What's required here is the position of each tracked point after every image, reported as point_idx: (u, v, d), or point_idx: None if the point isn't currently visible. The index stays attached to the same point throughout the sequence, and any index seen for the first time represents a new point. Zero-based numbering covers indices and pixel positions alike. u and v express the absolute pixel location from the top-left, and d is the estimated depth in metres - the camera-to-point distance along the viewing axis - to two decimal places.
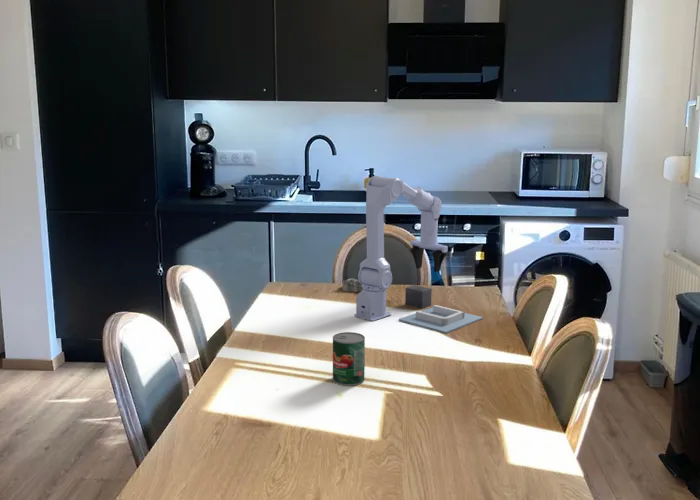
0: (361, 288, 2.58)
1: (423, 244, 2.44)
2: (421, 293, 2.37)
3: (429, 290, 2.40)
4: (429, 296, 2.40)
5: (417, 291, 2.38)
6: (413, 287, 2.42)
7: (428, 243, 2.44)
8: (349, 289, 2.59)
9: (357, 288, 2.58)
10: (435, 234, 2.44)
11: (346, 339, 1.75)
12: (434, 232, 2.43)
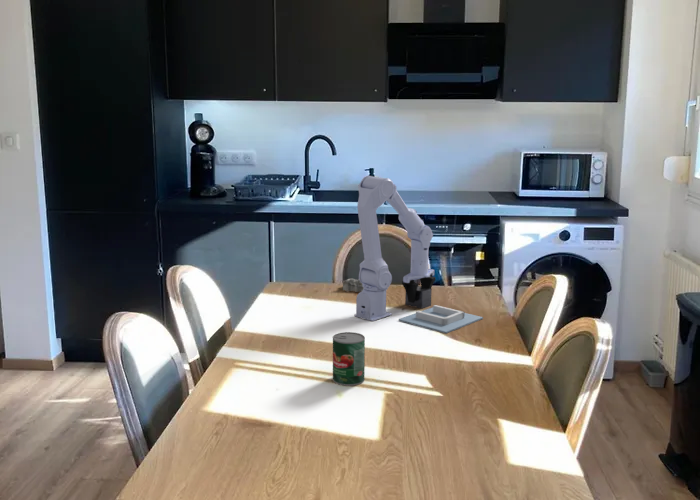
0: (361, 288, 2.58)
1: None
2: (421, 293, 2.37)
3: (429, 290, 2.40)
4: (429, 296, 2.40)
5: (417, 291, 2.38)
6: None
7: None
8: (349, 289, 2.59)
9: (357, 288, 2.58)
10: (413, 263, 2.37)
11: (346, 339, 1.75)
12: (412, 261, 2.37)
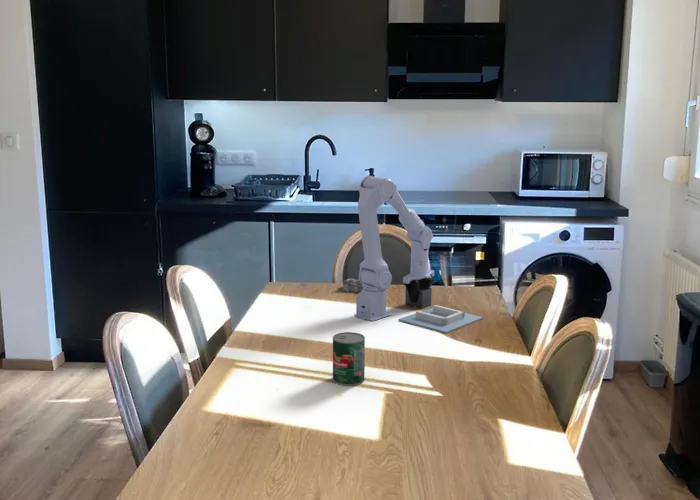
0: (362, 288, 2.58)
1: None
2: (421, 293, 2.37)
3: (429, 290, 2.40)
4: (429, 296, 2.40)
5: None
6: None
7: None
8: (349, 289, 2.59)
9: (358, 288, 2.58)
10: (413, 264, 2.37)
11: (346, 339, 1.75)
12: (412, 262, 2.37)
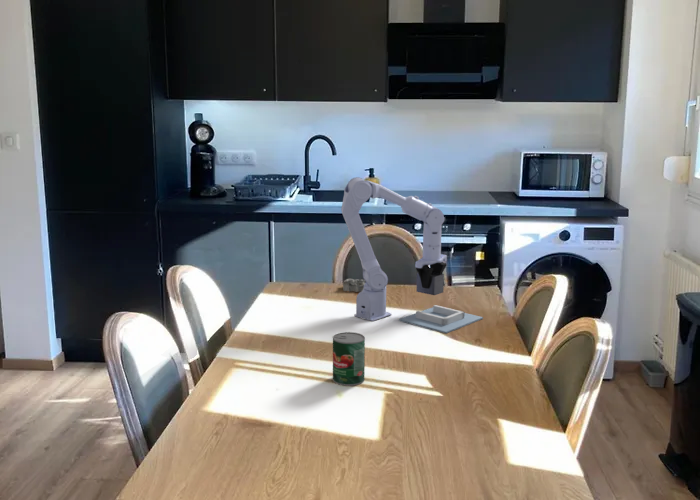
0: (362, 288, 2.58)
1: None
2: (433, 278, 2.27)
3: (441, 275, 2.30)
4: (441, 282, 2.30)
5: None
6: None
7: None
8: (350, 289, 2.59)
9: (358, 288, 2.58)
10: (426, 248, 2.27)
11: (346, 339, 1.75)
12: (425, 245, 2.27)
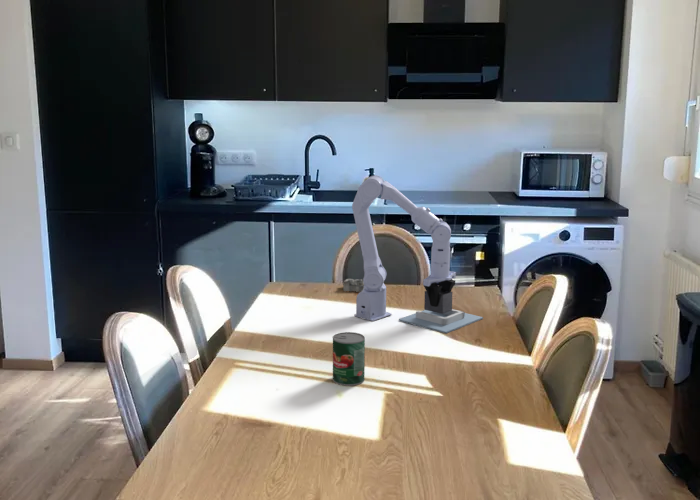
0: (362, 288, 2.59)
1: None
2: (441, 296, 2.22)
3: (450, 293, 2.24)
4: (450, 300, 2.25)
5: None
6: None
7: None
8: (350, 289, 2.59)
9: (359, 288, 2.58)
10: (434, 265, 2.21)
11: (346, 339, 1.75)
12: (433, 263, 2.22)
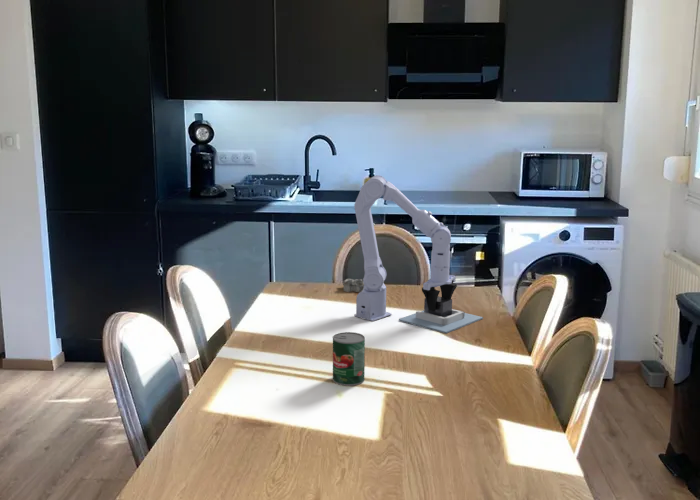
0: None
1: None
2: (441, 304, 2.22)
3: (450, 301, 2.25)
4: (450, 307, 2.25)
5: (437, 302, 2.23)
6: None
7: None
8: (350, 289, 2.58)
9: (359, 288, 2.58)
10: (434, 269, 2.22)
11: (346, 339, 1.75)
12: (433, 267, 2.22)
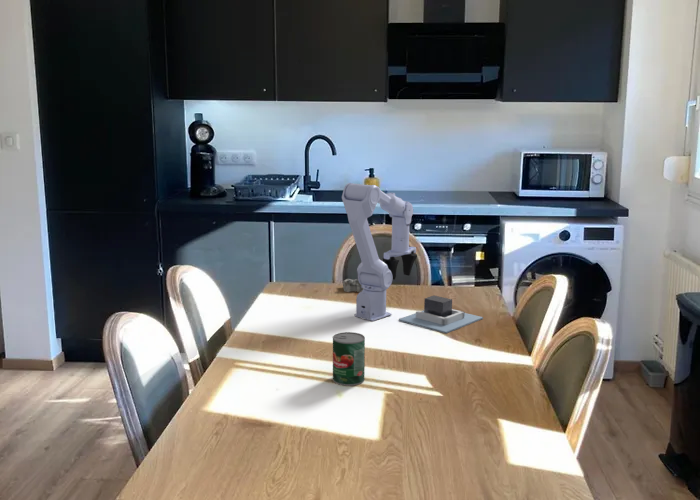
0: None
1: None
2: (441, 304, 2.22)
3: (450, 301, 2.25)
4: (450, 307, 2.25)
5: (437, 302, 2.23)
6: (432, 298, 2.27)
7: None
8: (351, 290, 2.58)
9: (360, 288, 2.58)
10: (394, 240, 2.36)
11: (346, 339, 1.75)
12: (393, 238, 2.36)
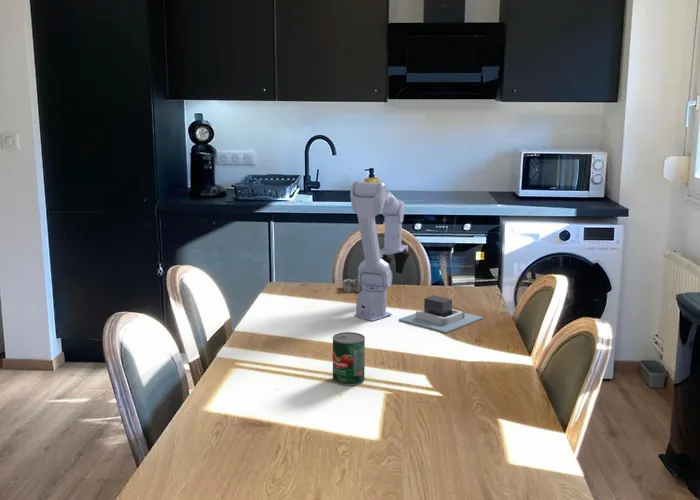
0: None
1: None
2: (441, 304, 2.22)
3: (450, 301, 2.25)
4: (450, 307, 2.25)
5: (437, 302, 2.23)
6: (432, 298, 2.27)
7: (384, 246, 2.42)
8: (351, 290, 2.58)
9: (360, 288, 2.58)
10: (387, 238, 2.39)
11: (346, 339, 1.75)
12: (386, 236, 2.39)
